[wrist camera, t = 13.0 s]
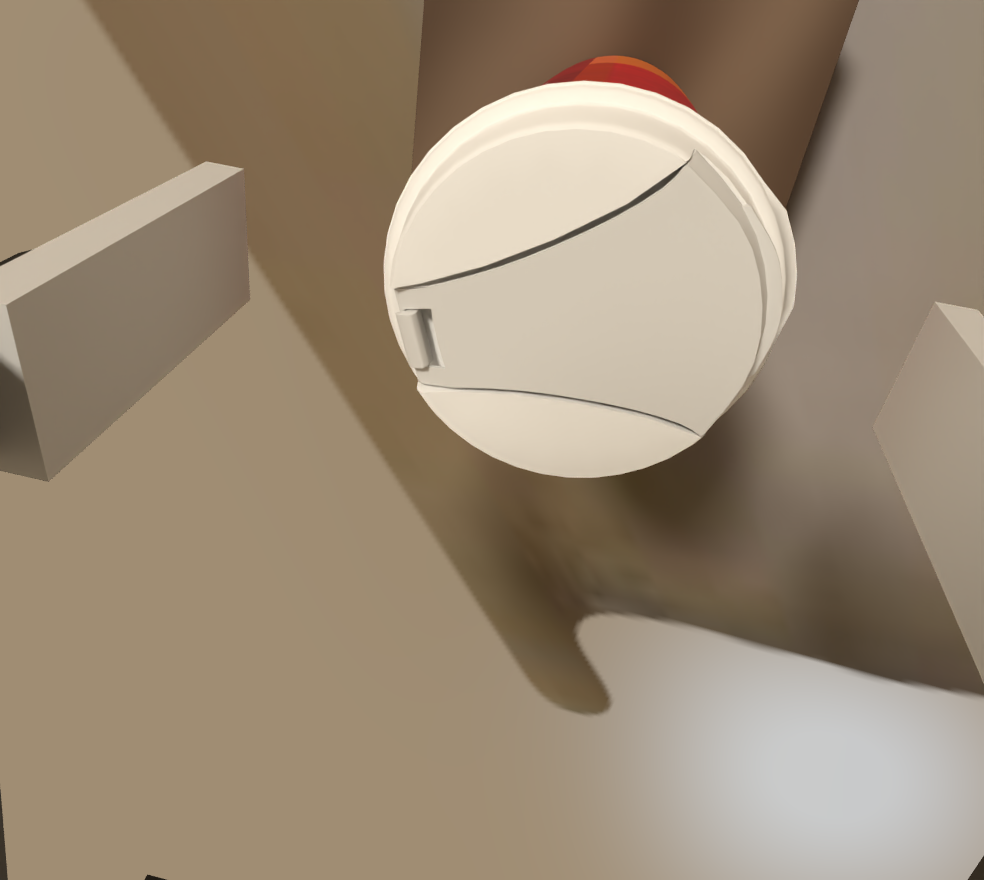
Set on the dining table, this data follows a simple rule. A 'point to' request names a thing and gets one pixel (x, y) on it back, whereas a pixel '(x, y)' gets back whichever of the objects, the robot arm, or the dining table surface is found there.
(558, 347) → the paper cup
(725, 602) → the dining table surface
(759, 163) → the podium
